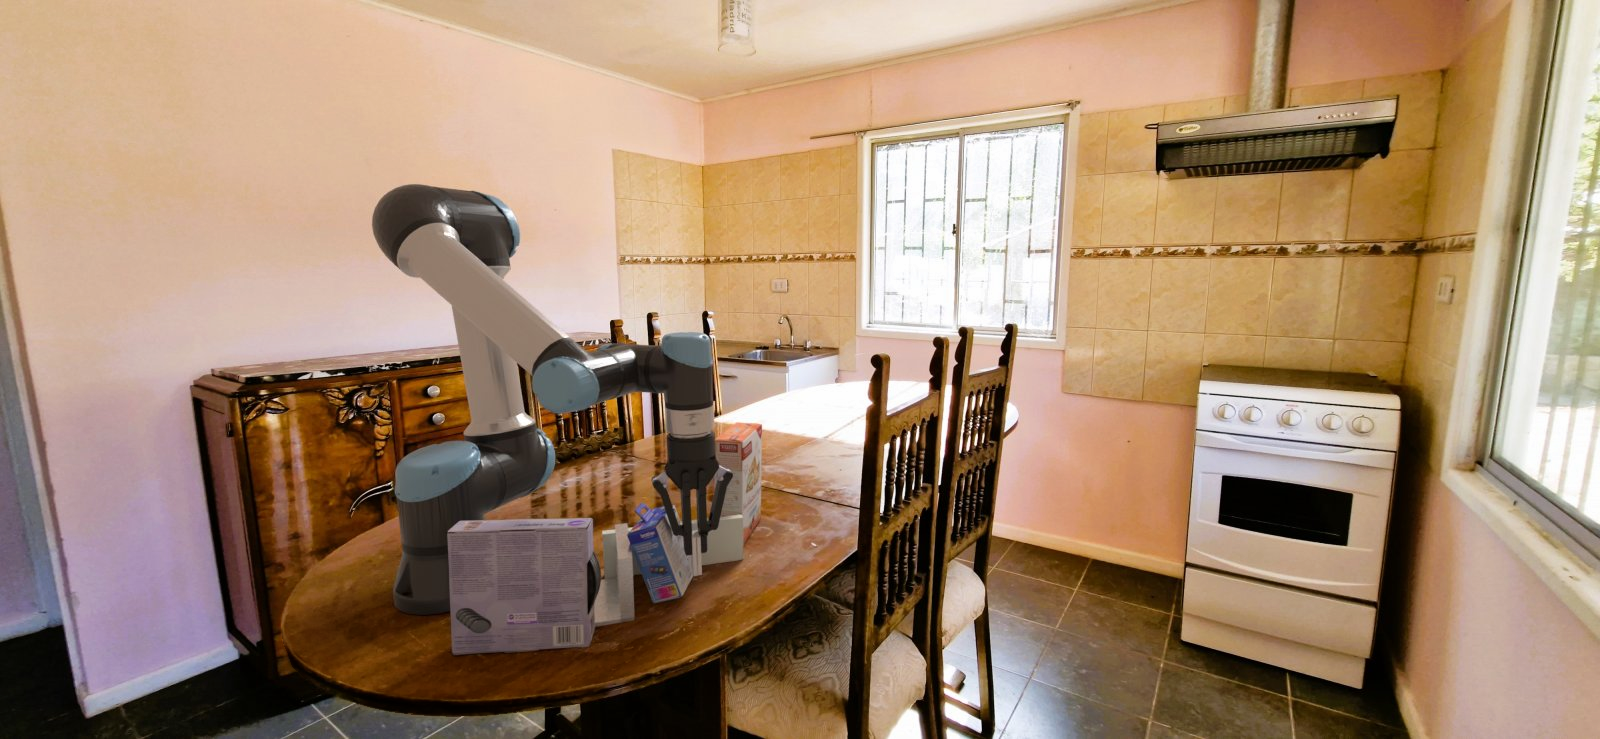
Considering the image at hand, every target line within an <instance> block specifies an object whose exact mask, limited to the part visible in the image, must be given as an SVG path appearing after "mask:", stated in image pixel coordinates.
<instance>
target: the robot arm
mask: <svg viewBox="0 0 1600 739" xmlns="http://www.w3.org/2000/svg"><path fill="white" fill-rule="evenodd" d="M371 229H372V234H373V236H374V238H375V241H376V244H377V245H378V248H379V249H380V250H381V252H382V253H383V254H384V256H385V257H386V258H387V259H388V260H389V261H390V262H391V263H392V264H393V265H394V266H396V267H397V269H399V270H400V271H401V272H402V273H403V274H405V276H409V277H411V278H416V279H418V278H419V279H420V280H422V281H423V282H424V283H425V284H427V286H429V287H430V288H431V289H432V290H433V291H435V292H436V293H437V294H438V295H440V297H442V298H443V299H444V300H445V301H446V302H447V303H448V304H449V305H450V306H451V309H452V310H451V311H452V316H453V322H454V328H455V332H456V333H455V334H456V339H457V344H458V351H459V355H460V356H459V357H460V361H461V362H460V363H461V367H462V374H463V378H464V379H463V380H464V385H465V390H466V396H467V397H466V398H467V402H468V408H469V414H470V420H471V421H470V423H469V424H468V426H467V427H466V428H465V430H464V431H463V437H464V440H450V441H443V442H441V443H439V444H437V443H434V444H430V445H427V446H423V447H420V448H418V449H416V450H413V451H411V452H409V453H407V455H405V456H403V458H402V459H401V460H400V461H399V462H398V463H397V465H396V467H395V472H394V473H395V474H394V475H395V485H394V495H395V496H396V501H397V508H398V509H397V510H398V511H397V512H398V521H399V531H400V541H401V551H402V553H401V558H400V562H399V566H398V567H397V572H396V576H395V579H394V584H393V587H392V597H393V604H394V608H396V609H397V610H399V611H400V612H403V613H405V614H411V615H418V616H419V615H422V616H424V615H436V614H438V615H439V614H442V613H448V612H449V613H450V590H449V558H448V538H447V534H448V530H450V529H451V528H452V527H453V526H454V525H455V524H457V523H458V522H459V521H475V520H485V514H487V513H490V512H492V511H494V510H496V509H498V508H501V507H502V506H504V505H507V504H509V503H511V502H513V501H516V500H518V499H521V498H525V497H527V496H529V495H530V494H532V493H533V492H535V491H536V490H538V489H540V488H541V487H543V486H544V485H545V484H546V483H547V482H548V481H549V479H550V478H551V476H552V474H553V471H554V469H555V464H556V452H555V447H554V445H553V442H552V440H551V438H548V437H547V434H546V433H545V431H543V430H542V429H541V428H540V429H539V428H538V427H537V423H536V422H537V421H536V419H535V418H534V417H531V416H530V415H528V414H527V413H526V412H525V407H524V406H525V405H524V399H523V395H522V388H521V383H520V382H521V381H520V375H519V370H518V369H519V368H518V365H519V366H520V367H521V368H523V369H524V370H525V371H526V372H527V373H528V374H529V375H530V376H532V381H531V382H532V391H533V394H535V396H536V398H537V402H538V404H539V405H540V406H541V407H542V408H544V409H545V410H546V411H549V412H550V413H553V414H559V415H560V414H567V413H568V414H569V413H572V412H579V411H584V410H587V409H588V408H591V407H592V406H595V405H597V404H601V403H603V402H607V401H610V400H614V399H616V398H620V397H624V396H627V395H629V394H632V393H649V394H650V393H651V394H663V397H664V398H663V399H664V412H665V413H664V416H665V418H664V419H665V430H666V432H667V435H666V438H665V439H666V440H665V441H666V454H667V456H666V457H667V460H666V464H664V471H663V472H661V473H659V475H655V476H652V477H651V484H652V487H653V488H654V489H655V491H656V492H657V493H658V494H659V495H660V499H661V502H662V505H663V506H664V508H665V511H666V514H667V517H668V520H669V523H670V526H671V529H672V532H673V534H674V535H675V536H678V535H681V536H683V543H684V551H685V554H686V556H688V555H691V569H692V572H693V577H697V576H702V575H703V570H702V569H703V565H702V563H701V553H706V552H707V536H708V532H709V531H711V530H716V529H717V528H718V525H719V521H720V516H721V512H722V507H723V503H724V498H725V494H726V489H727V486H728V484H729V482H730V481H731V479H732V478H733V474H732V472H731V471H730V469H729V468H724V467H722V466H720V465H719V462H718V461H717V459H716V451H715V439H716V433H715V432H714V429H715V427H716V426H715V408H714V405H715V404H714V384H713V382H714V380H713V379H714V376H713V366H714V359H713V353H712V351H713V350H712V344H711V343H712V341H711V339H710V336H708V335H707V334H706V333H703V332H695V331H693V332H692V331H690V332H689V331H687V332H683V331H681V332H671V333H666V334H664V335H663V336H662V338H661V344H660V345H658V344H657V345H652V344H650V345H649V344H633V343H632V344H631V343H624V342H618V343H617V342H616V343H604V344H601V345H599V347H598V348H597V349H596V350H595V351H588V350H586V349H585V348H584V347H582V346H581V345H580V344H579V343H577V342H576V341H575V340H574V339H572V338H571V337H570V336H569V335H568V334H567V333H566V332H564V331H563V330H562V329H561V328H560V327H559V326H557V324H555V323H554V322H553V321H552V320H550V319H549V318H548V317H547V316H546V315H544V313H542V312H541V311H540V309H538V308H536V307H535V306H534V305H533V304H532V303H531V302H530V301H528V300H527V299H526V298H525V297H523V296H522V295H521V293H519V292H518V291H517V290H516V289H514V288H513V287H512V286H511V285H510V284H509V283H507V282H506V281H505V280H504V278H505V276H506V275H507V274H508V273H509V272H510V270H511V269H512V268H511V262H510V258H512V257H513V256H514V255H515V254H516V253H517V249H518V248H517V247H519V246H520V242H521V230H520V226H519V223H518V219H517V218H516V215H515V214H514V211H513V210H512V209H511V208H510V207H509V206H508V205H507V204H506V203H505V202H504V201H503V200H501V199H500V198H499V197H496V196H494V195H490V194H486V193H483V192H480V191H476V190H463V189H456V188H448V187H439V186H431V185H427V184H420V183H419V184H418V183H410V184H404V185H403V184H402V185H401V186H400V185H399V186H398V187H395V188H393V189H391V190H389V191H388V192H387V193H385V194H383V196H382V197H381V198H380V199H379V201H378V202H377V204H376V206H375V207H374V210H373V212H372V217H371ZM716 472H717V475H716V477H717V479H718V480H717V483H716V487H715V486H714V492H713V497H712V500H711V507H710V512H709V515H708V514H707V513H708V512H707V510H708V509H707V507H708V506H707V495H708V494H707V486H708V485H710V483H711V481H712V479H713V478H715V474H716ZM668 479H670V480H671V482H673V484H674V485H675V486H676V487H677V488H678V489H679V491H680V505H681V506H680V508H681V509H680V510H681V522H682V525H679V524H678V522H677V519H676V516H675V513H674V509H673V506H672V504H673V503H672V501H671V498H670V494H669V491H668V489H667V488H668V486H669V482H668ZM693 490H695V496H696V497H695V498H696V502H695V503H696V520H697V527H698V530H695V531H692V505H691V504H692V502H691V493H692V491H693ZM707 518H709V519H708V521H707Z"/></svg>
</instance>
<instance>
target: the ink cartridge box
mask: <svg viewBox="0 0 1600 739" xmlns="http://www.w3.org/2000/svg"><path fill="white" fill-rule="evenodd" d="M672 506H673V509H674V513H675V516H676V519H677V522H678V524H679V525H682V524H681V522H682V520H681V518H680V516H679V513H678V511H677V508H676V505H675V503H672ZM643 509H645V510H646V511H645V513H643V514H642V513H641V511H642V510H643ZM634 513H635V514H636V515H637V516H638V517H639V520H638V521H637V522H636V523H635V525H634V526H633V528H632V530H631V531H630V532H629V533H628V534H627V537H628V539H629V542H630V544H631V547H632V550H633V552H634V555H635V557H636V560H637V563H638V565H639V568H640V570H641V573H642V574H641V575H642V576H641V577H642V578H643V581H644V583H645V585H646V588H647V591H648V593H649V595H650V599H651V601H652V603H653V604H657V603H662V602H666V601H671V600H675V599H680V598H681V597H683V596H684V594H685V592H686V590H687V588H688V586H689V585H690V583H691V581H692V580H693V577H694V575H693V572H692V569H691V555H688V556H686V554H685V551H684V543H683V536H681V535H678V536H675V535H674V534H673V532H672V529H671V526H670V523H669V520H668V517H667V514H666V511H665V508H664V505H663V506H659V507H655V508H649V507H648V506H647V505H646V504H644V502H641V503H640V504H639V505H638V506H637V507H636V508H635V509H634Z"/></svg>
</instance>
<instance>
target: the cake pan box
mask: <svg viewBox="0 0 1600 739" xmlns="http://www.w3.org/2000/svg"><path fill="white" fill-rule="evenodd" d="M447 538H448V558H449V590H450V611H449V613H450V634H451V635H450V636H451V637H450V638H451V652H452V655H453V656H461V655H462V656H463V655H473V654H487V653H503V652H504V653H508V654H509V653H522V652H523V653H524V652H537V651H539V650H549V649H550V650H551V649H563V648H564V649H566V648H567V649H569V648H589V647H590V645H591V642H592V639H593V636H594V634H595V630H596V627H595V614H594V603H595V600H596V597H597V595H598V592H599V589H600V584H601V580H602V570H601V566H600V565H601V564H600V562H599V558H598V556H597V555H596V554H597V553H596V552H595V550H594V519H593V518H592V517H576V518H575V517H573V518H571V517H570V518H520V519H517V518H515V519H486V520H485V519H484V520H475V521H459V522H458V523H457V524H455V525H454V526H453V527H452V528H451V529H450V530H448V534H447Z"/></svg>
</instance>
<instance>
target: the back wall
mask: <svg viewBox="0 0 1600 739" xmlns="http://www.w3.org/2000/svg"><path fill="white" fill-rule="evenodd" d="M708 519H709V517H707V521H708ZM691 520H692V519H691ZM681 524H682V521H681ZM633 527H634V526H633ZM633 527H628V531H629V532H630V531H631V530H632V528H633ZM695 530H698V527H697V519H693V520H692V531H695ZM601 532H602V533H601V534H602V550H603V551H602V553H603V554H602V555H603V556H602V557H603V573H604V575H603V576H604V579H611V578H617V565H616V541H615V528H614V529H607V530H602V531H601ZM630 545H631V544H630ZM631 552H632V563H633V576H637V575H642V573H641V570H640V568H639V565H638V563H637V560H636V557H635V555H634V552H633V550H632V547H631ZM742 560H744V545H743V516H742V515H732V516H724V517H720V521H719V525H718V528H717V529H716V530H711V531H709V532H708V536H707V552H706V553H701V563H702V566H707V565H713V564H721V563H727V562H728V563H729V562H735V561H742ZM604 579H603V580H604Z"/></svg>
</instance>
